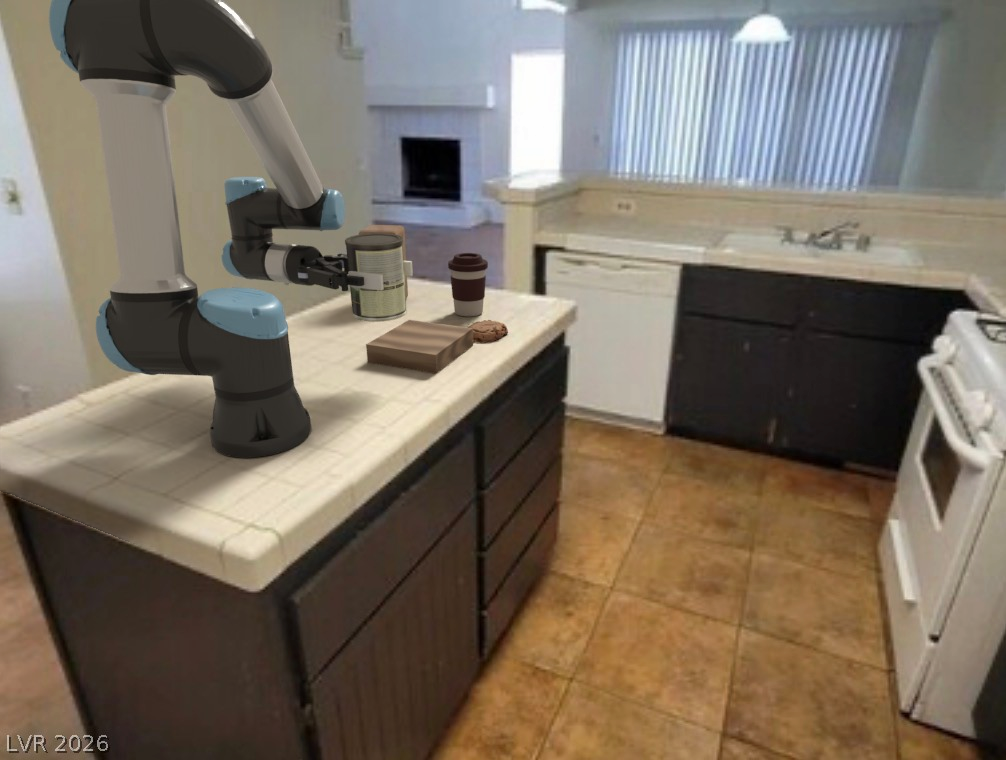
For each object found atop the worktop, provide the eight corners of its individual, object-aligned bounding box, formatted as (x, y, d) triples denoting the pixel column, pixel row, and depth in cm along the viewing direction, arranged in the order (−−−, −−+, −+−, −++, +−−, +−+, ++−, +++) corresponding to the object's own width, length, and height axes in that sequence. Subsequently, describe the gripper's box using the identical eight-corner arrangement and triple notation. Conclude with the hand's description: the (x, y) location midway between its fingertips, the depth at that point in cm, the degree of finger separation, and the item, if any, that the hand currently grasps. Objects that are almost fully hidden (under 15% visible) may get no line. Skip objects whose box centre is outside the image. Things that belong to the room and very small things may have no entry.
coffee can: (340, 316, 119) (332, 240, 114) (376, 302, 127) (371, 231, 122) (382, 325, 115) (377, 246, 109) (418, 310, 123) (414, 236, 117)
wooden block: (409, 297, 179) (405, 224, 171) (400, 307, 170) (395, 231, 162) (374, 296, 180) (368, 224, 172) (363, 306, 171) (357, 230, 163)
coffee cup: (443, 316, 163) (441, 258, 157) (457, 306, 172) (456, 250, 166) (480, 320, 160) (480, 260, 154) (492, 309, 169) (492, 252, 163)
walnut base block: (436, 373, 128) (435, 354, 126) (367, 362, 133) (366, 344, 132) (473, 345, 143) (472, 328, 142) (410, 336, 149) (409, 319, 147)
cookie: (466, 344, 145) (466, 331, 144) (465, 329, 155) (464, 317, 154) (510, 343, 146) (510, 330, 145) (506, 328, 156) (506, 316, 154)
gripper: (332, 270, 135) (426, 280, 128) (258, 298, 116) (365, 312, 108) (328, 234, 132) (425, 243, 125) (252, 257, 113) (361, 268, 105)
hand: (397, 275), depth 117 cm, fingers closed on coffee can, 10 cm apart
